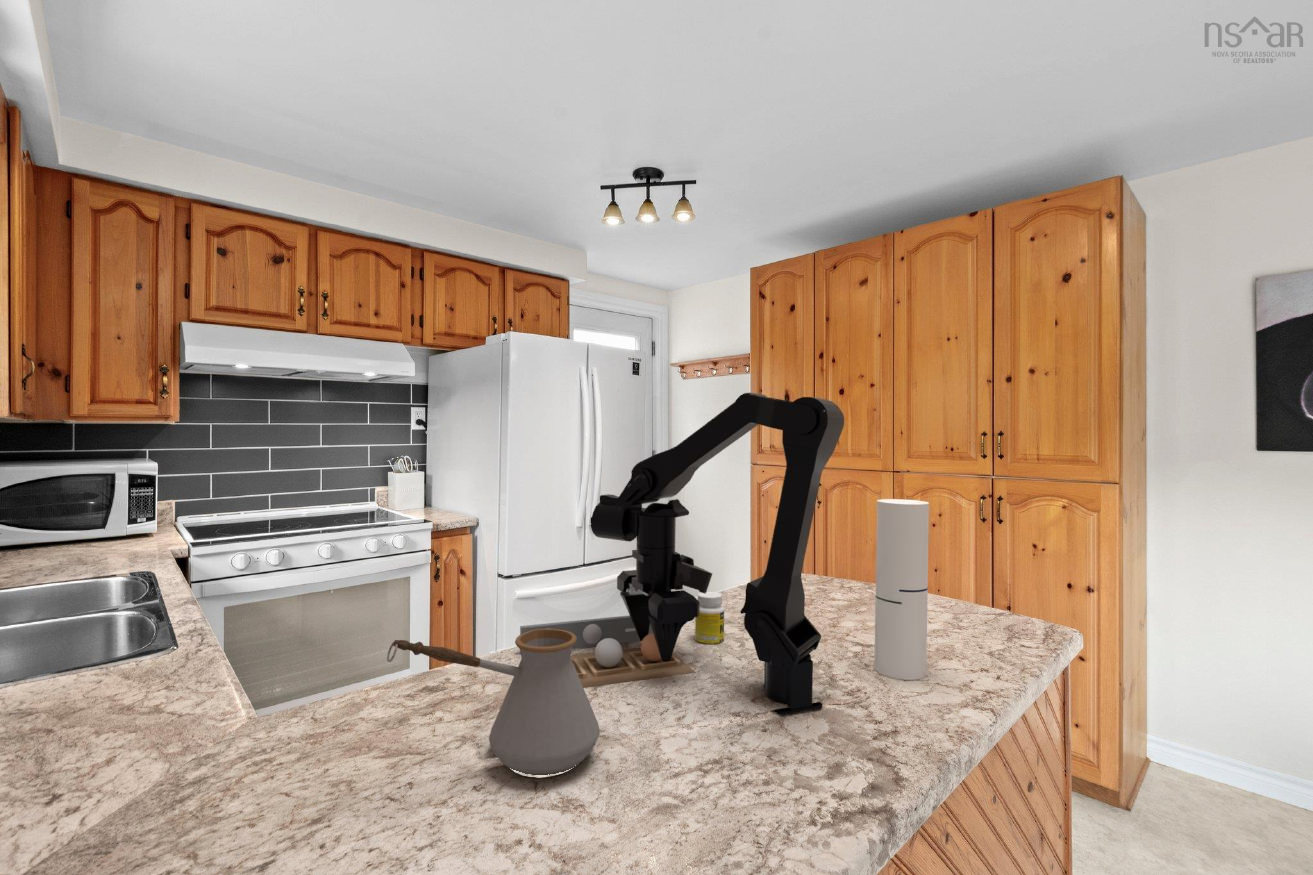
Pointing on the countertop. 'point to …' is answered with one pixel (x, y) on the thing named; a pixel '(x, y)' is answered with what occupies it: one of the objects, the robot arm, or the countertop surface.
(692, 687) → the countertop surface
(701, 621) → the supplement bottle
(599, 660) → the grey ball
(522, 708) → the coffee pot
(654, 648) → the terracotta ball
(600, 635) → the card
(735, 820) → the countertop surface
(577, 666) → the rack
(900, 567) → the cylindrical container
